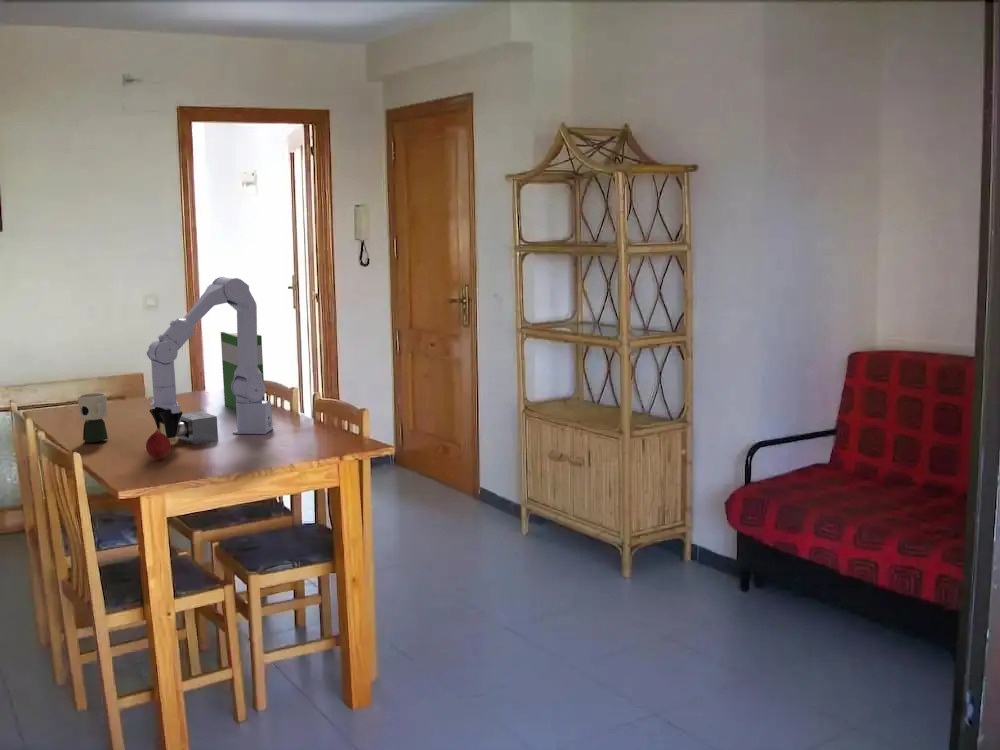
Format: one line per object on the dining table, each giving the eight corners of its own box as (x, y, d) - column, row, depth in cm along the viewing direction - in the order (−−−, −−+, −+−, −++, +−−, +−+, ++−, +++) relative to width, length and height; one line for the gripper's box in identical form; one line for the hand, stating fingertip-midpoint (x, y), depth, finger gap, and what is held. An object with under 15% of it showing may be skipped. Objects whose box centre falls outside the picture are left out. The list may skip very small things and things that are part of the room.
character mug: (75, 440, 268) (71, 394, 266) (101, 436, 273) (97, 391, 271) (90, 447, 260) (86, 399, 258) (116, 443, 265) (113, 395, 263)
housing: (202, 435, 274) (201, 411, 273) (218, 440, 266) (216, 416, 265) (178, 438, 269) (176, 414, 268) (193, 444, 262) (192, 420, 261)
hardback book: (224, 405, 318) (220, 332, 314) (247, 402, 322) (243, 330, 318) (242, 414, 303) (238, 337, 299) (265, 411, 307) (261, 335, 303)
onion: (157, 464, 241) (155, 432, 240) (142, 461, 244) (139, 430, 243) (176, 459, 246) (174, 428, 245) (161, 456, 249) (159, 425, 248)
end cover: (190, 434, 269) (188, 417, 268) (197, 437, 265) (196, 420, 264) (159, 439, 263) (158, 422, 262) (167, 442, 260) (165, 424, 259)
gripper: (139, 384, 263) (142, 433, 265) (159, 391, 252) (163, 442, 254) (164, 381, 267) (167, 429, 269) (186, 387, 256) (189, 438, 259)
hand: (167, 435), depth 262 cm, fingers closed on end cover, 5 cm apart
